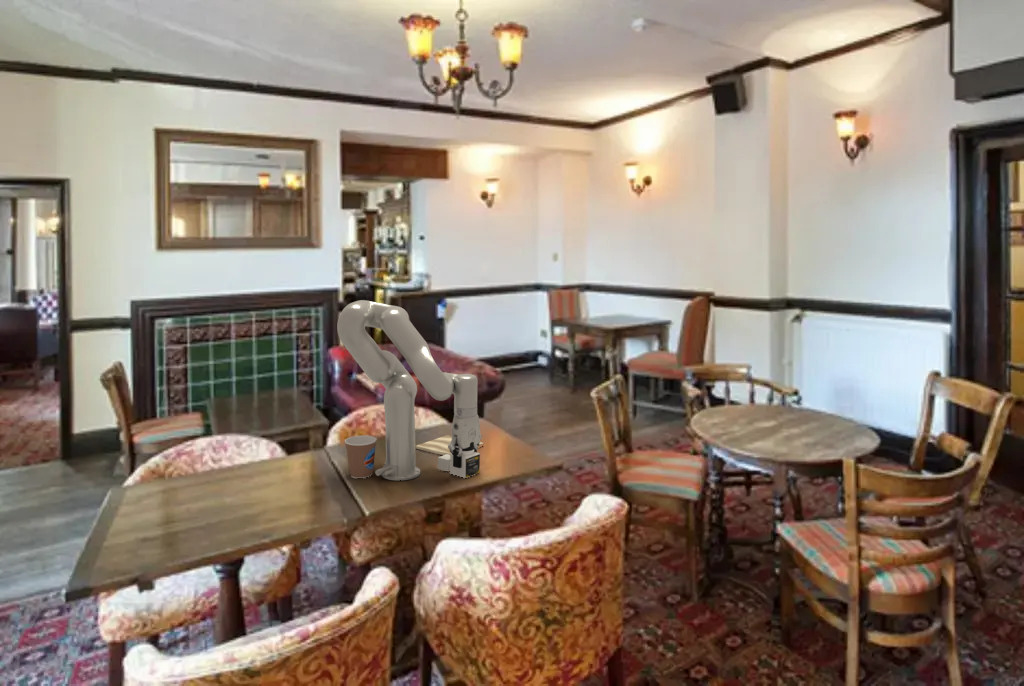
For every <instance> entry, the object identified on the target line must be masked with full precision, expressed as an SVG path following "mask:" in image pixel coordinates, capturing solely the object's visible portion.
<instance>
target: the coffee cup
mask: <svg viewBox="0 0 1024 686" xmlns="http://www.w3.org/2000/svg"><path fill="white" fill-rule="evenodd" d="M377 441H378V438H377V437H375V436H374V435H373V436H372V435H355V436H349V437H347V438H346V439H344V443H345V448H346V449H345V450H346V454H347V455H346V456H347V462H348V468H349V469H348V470H349V474H350V477H351V478H353V479H357V478H363V479H367V478H366V477H368V478H370V477H371V475H372V476H373V472H374V467H375V456H376V444H377ZM369 476H370V477H369Z"/></svg>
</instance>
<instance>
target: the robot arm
mask: <svg viewBox="0 0 1024 686" xmlns="http://www.w3.org/2000/svg"><path fill="white" fill-rule="evenodd" d="M337 319H338V320H337V325H336V326H337V327H336V329H337V335H338V338H339V339H340V342H341V343H342V345H343V346H344V348H345V349H346V350H347V351H348V353H349V354H350V355H351V356H352V358H353V359H354V361H355V362H356V363H357V364H358V366H359V367H360V368H361V370H362V371H363V372H364V374H365V375H366V377H367V378H368V379H369V380H370V381H372V382H373V383H376V384H381V385H382V386H383V387H384V389H385V391H384V395H383V405H384V406H383V407H384V408H383V409H384V418H385V419H384V422H385V423H384V425H385V427H384V428H385V462H384V463H383V467H382V468H378V469H375V476H378V477H379V476H381V477H382V478H383V479H385V480H389V481H395V482H396V481H399V482H400V480H401V481H407V480H412V479H415V478H418V477H419V476H420V474H421V469H420V468H419V467H418V466H416V417H415V416H416V415H415V414H416V413H415V400H416V399H415V398H416V396H417V393H418V385H417V382H416V381H415V379H414V378H413V377H412V375H411V374H410V372H409V371H408V370H407V369H406V368H405V366H404V365H403V363H402V362H401V361H400V360H399V358H398V357H397V356H396V355H394V354H393V352H391V351H389V350H385V349H381V348H380V346H379V345H378V344H377V342H376V341H375V340H374V339H373V338H372V337H371V335H370V334H369V333H368V332H367V330H366V327H370V328H376V329H381V330H383V332H384V333H385V334H386V336H387V337H388V339H390V341H391V343H393V345H394V346H395V347H396V348H397V350H398V351H399V353H400V354H401V355H402V356H403V358H404V359H405V360H406V363H407V364H408V366H409V367H410V368H411V369H410V370H412V372H413V374H414V375H415V377H416V378H417V380H418V381H419V382H420V383H421V385H422V387H423V388H424V389H425V390H426V392H427V393H428V394H429V395H430V397H432V398H433V399H435V400H436V401H445V400H448V399H449V398H451V396H452V394H453V396H454V400H453V405H454V406H453V413H454V415H453V419H452V425H451V426H452V427H451V436H452V441H451V442H450V444H449V445H448V448H449V450H450V452H451V453H452V455H453V467H457V468H461V467H462V456H460V455H461V452H462V449H465V448H468V447H470V443H471V442H474V452H477V453H478V450H479V449H478V445H479V443H480V442H481V440H482V434H481V428H480V427H481V424H480V417H479V415H478V384H479V383H478V382H479V381H478V377H477V376H476V375H475V374H472V373H460V374H459V373H458V374H457V373H452V372H446V371H445V372H443V371H442V370H441V369H440V368H439V366H438V364H437V363H436V361H435V360H434V358H433V356H432V354H431V350H430V347H429V345H428V343H427V341H426V340H425V339H424V337H423V336H422V334H420V332H419V331H418V330H417V329H416V327H415V326H414V324H413V323H412V322H411V320H410V316H409V314H408V311H406V310H405V309H404V307H403V308H402V307H401V306H397V305H390V304H387V303H381V302H375V301H370V300H365V299H363V300H362V299H361V300H359V299H358V300H356V301H353V302H350V303H349V304H347V305H346V306H345V307H344V308H343V309H342V311H341V312H340V314H339V316H338V318H337ZM457 444H458V445H459V446H457ZM457 448H458V449H459V450H458V451H457Z"/></svg>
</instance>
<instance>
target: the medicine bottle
mask: <svg viewBox="0 0 1024 686" xmlns="http://www.w3.org/2000/svg"><path fill="white" fill-rule="evenodd" d="M457 446H459V445H458V444H457ZM458 450H459V449H458V448H457V451H458ZM460 456H462V467H461V468H457V467H453V455H452V453H451V454H450V472H449V475H451V474H453V475H452V476H455V475H457V476H456V477H458V476H460V477H459V478H461V477H463V478H462V479H465V478H467V479H468V477H469V478H471V477H470V476H472V475H474V474H477V473H479V472H481V471H480V469H481V468H480V466H481V465H480V464H481V461H480V460H481V453H480V452H478V451H477V452H474V442H471V443H470V447H468V448H465V449H462V452H461V455H460ZM479 474H480V473H479ZM477 475H478V474H477ZM474 476H475V475H474ZM472 477H473V476H472Z"/></svg>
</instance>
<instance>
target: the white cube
mask: <svg viewBox="0 0 1024 686" xmlns="http://www.w3.org/2000/svg"><path fill="white" fill-rule="evenodd" d="M438 469H441V470H444V471H450V455H448V454H446V455H443V456H438V457H437V470H438Z"/></svg>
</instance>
